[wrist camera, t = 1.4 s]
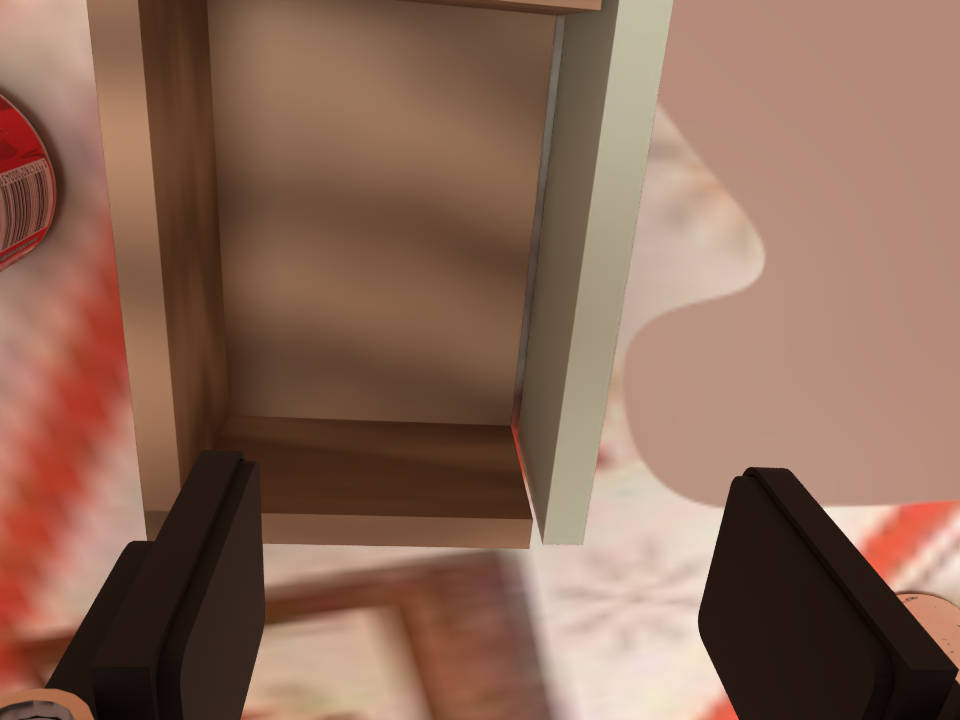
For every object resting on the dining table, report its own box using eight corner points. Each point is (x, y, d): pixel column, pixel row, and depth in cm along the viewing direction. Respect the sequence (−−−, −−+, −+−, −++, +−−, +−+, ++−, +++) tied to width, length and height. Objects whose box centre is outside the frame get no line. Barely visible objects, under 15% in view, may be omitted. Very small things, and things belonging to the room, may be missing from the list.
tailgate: (548, 439, 32) (582, 545, 26) (516, 438, 32) (542, 544, 26) (609, -12, 26) (677, -27, 19) (569, -16, 25) (623, -33, 19)
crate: (504, 434, 33) (528, 548, 26) (209, 424, 32) (147, 541, 24) (553, -22, 26) (607, -43, 19) (177, -60, 25) (75, -98, 17)
